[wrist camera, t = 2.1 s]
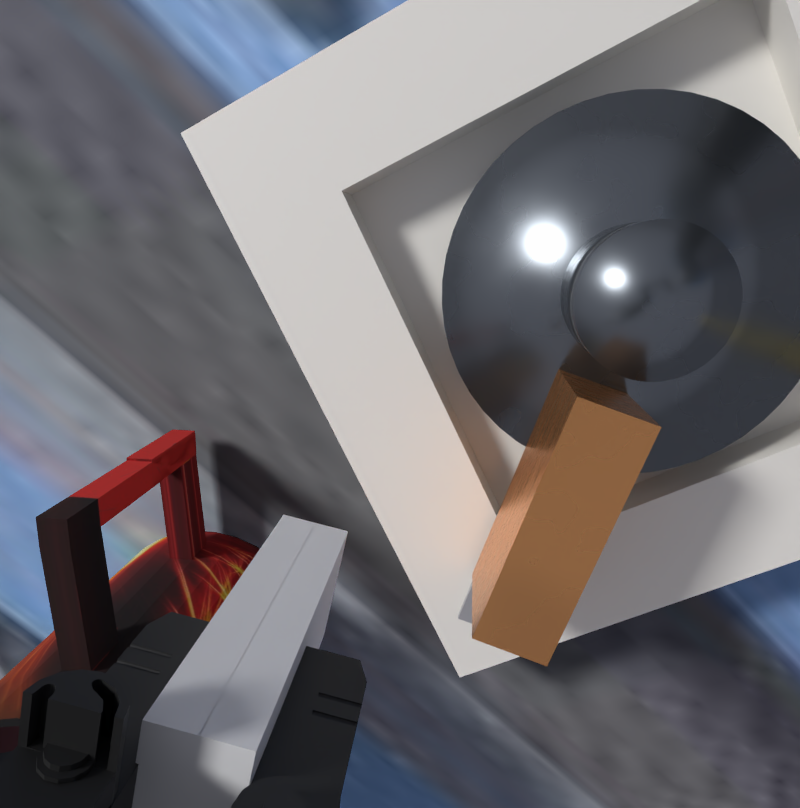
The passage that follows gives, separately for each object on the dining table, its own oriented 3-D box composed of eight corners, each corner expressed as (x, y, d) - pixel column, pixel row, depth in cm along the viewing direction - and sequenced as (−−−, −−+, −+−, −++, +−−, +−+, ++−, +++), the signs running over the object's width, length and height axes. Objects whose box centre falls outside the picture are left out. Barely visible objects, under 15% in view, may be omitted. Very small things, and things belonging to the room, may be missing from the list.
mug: (201, 414, 28) (7, 534, 16) (350, 675, 30) (272, 943, 19) (27, 500, 30) (-256, 663, 18) (179, 739, 32) (13, 1018, 21)
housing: (804, -182, 21) (1034, -479, 12) (997, 426, 24) (1277, 524, 16) (223, 149, 25) (95, 100, 17) (461, 622, 29) (456, 780, 20)
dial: (519, 51, 21) (536, -23, 15) (872, 175, 21) (1026, 148, 15) (357, 505, 26) (322, 582, 20) (647, 613, 25) (698, 723, 19)
